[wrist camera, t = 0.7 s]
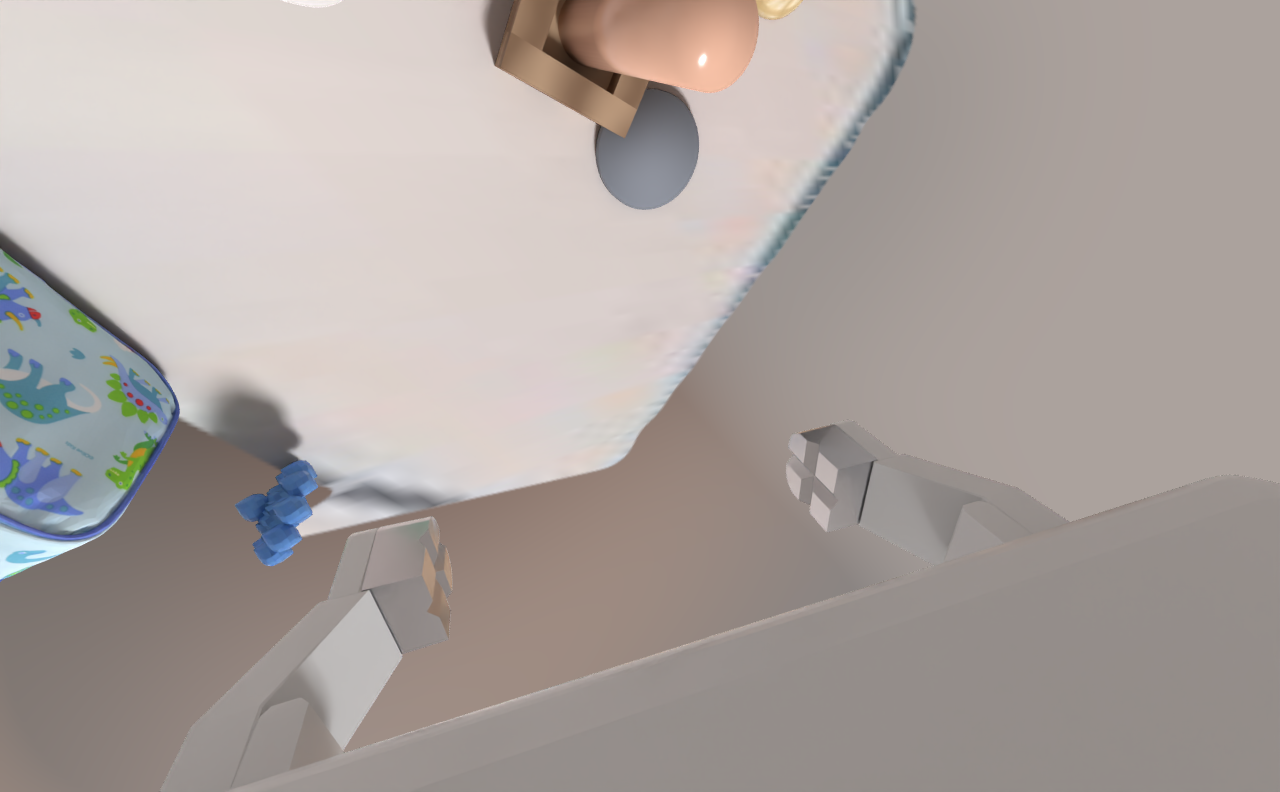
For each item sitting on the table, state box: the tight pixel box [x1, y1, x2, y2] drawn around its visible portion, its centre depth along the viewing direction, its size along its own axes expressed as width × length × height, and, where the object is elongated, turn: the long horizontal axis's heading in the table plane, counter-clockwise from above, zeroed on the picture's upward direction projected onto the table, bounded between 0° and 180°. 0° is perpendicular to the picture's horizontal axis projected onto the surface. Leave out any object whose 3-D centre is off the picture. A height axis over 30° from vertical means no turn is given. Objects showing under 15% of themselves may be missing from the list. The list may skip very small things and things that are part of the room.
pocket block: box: [495, 0, 649, 138], centre depth 41 cm, size 12×12×3 cm
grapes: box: [235, 461, 318, 566], centre depth 50 cm, size 12×7×12 cm, turn 143°
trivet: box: [596, 89, 699, 210], centre depth 49 cm, size 11×11×1 cm
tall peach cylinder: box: [558, 0, 759, 93], centre depth 33 cm, size 5×5×22 cm
